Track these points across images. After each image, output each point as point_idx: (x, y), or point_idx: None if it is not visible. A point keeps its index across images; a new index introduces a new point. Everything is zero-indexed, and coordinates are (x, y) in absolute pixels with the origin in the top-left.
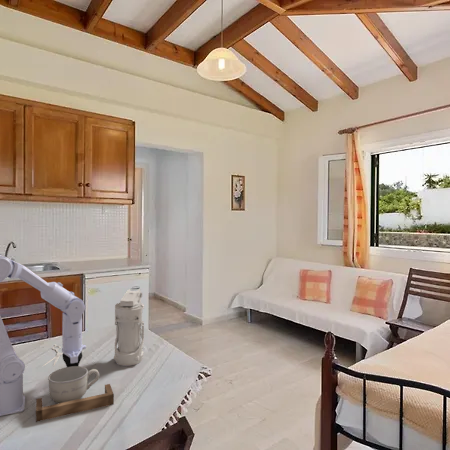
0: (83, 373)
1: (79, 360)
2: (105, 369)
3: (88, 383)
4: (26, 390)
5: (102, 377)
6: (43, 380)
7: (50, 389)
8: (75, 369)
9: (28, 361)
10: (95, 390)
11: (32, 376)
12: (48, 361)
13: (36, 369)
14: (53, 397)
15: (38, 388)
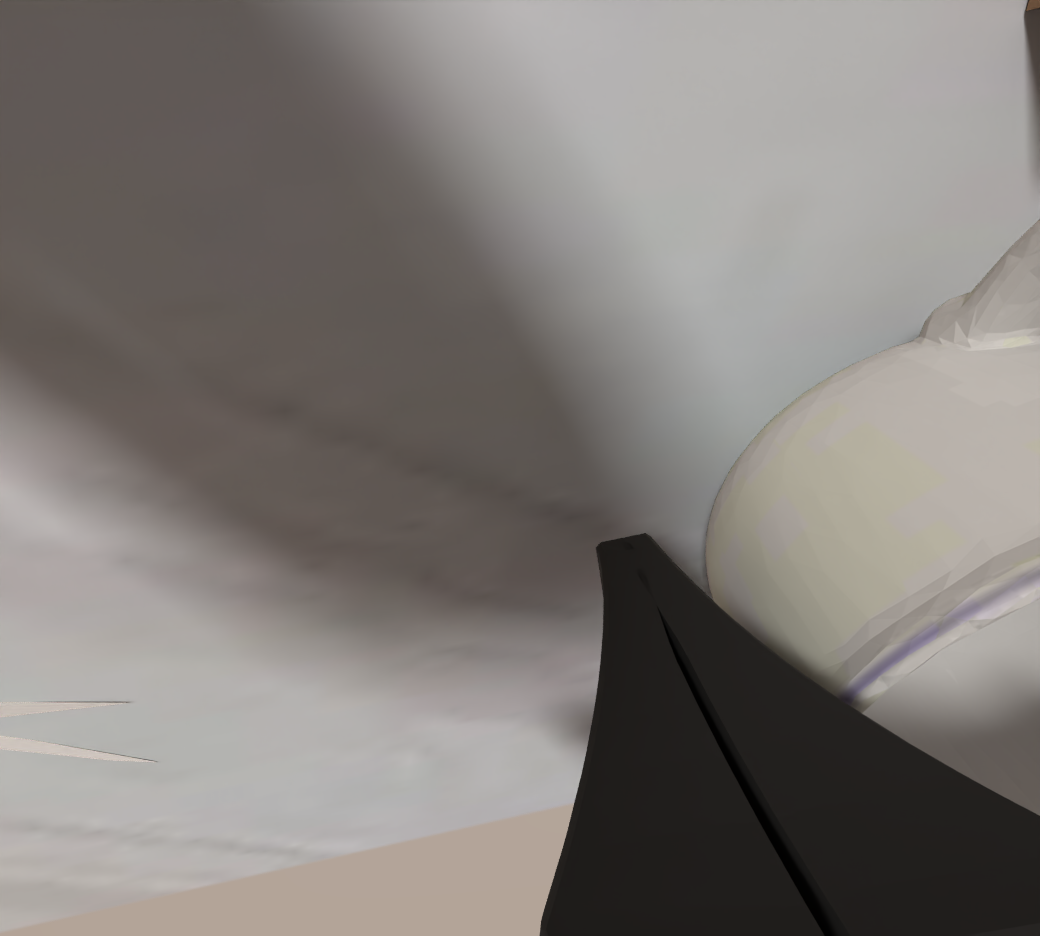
0: (998, 485)
1: (959, 784)
2: (59, 32)
3: (1026, 325)
4: (551, 742)
5: (413, 89)
6: (410, 701)
7: (1009, 718)
8: (856, 650)
9: (66, 836)
10: (811, 193)
11: (333, 765)
12: (21, 750)
13: (206, 774)
14: (996, 631)
15: (542, 698)
